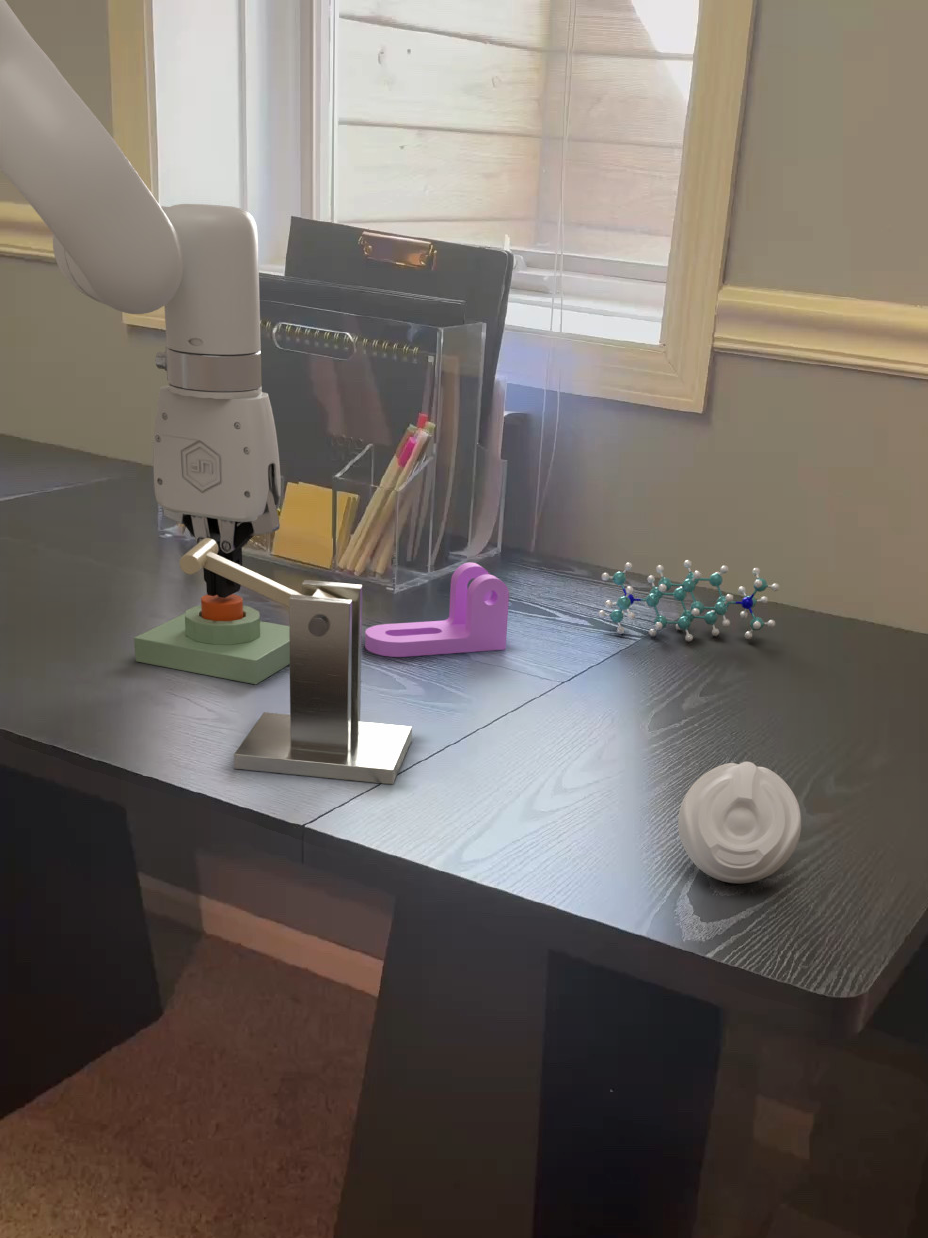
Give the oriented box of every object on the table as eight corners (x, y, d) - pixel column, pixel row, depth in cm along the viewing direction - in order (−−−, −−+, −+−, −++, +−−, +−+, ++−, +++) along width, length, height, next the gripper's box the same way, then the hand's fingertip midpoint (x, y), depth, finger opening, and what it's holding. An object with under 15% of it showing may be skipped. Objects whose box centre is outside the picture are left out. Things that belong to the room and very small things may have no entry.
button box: (135, 661, 122) (132, 617, 120) (194, 631, 130) (192, 589, 128) (256, 684, 119) (255, 640, 117) (308, 652, 127) (308, 610, 125)
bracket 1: (233, 769, 103) (228, 600, 97) (264, 725, 111) (260, 567, 104) (393, 784, 102) (397, 616, 96) (411, 740, 110) (417, 582, 104)
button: (194, 620, 122) (193, 600, 121) (214, 609, 125) (214, 590, 124) (230, 626, 121) (229, 606, 120) (250, 615, 124) (249, 596, 123)
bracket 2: (483, 631, 136) (487, 561, 133) (505, 649, 132) (510, 577, 128) (357, 640, 131) (358, 567, 128) (376, 658, 127) (377, 584, 123)
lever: (174, 575, 98) (184, 545, 97) (195, 558, 103) (205, 528, 101) (331, 648, 100) (343, 618, 98) (344, 627, 104) (356, 599, 103)
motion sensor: (667, 892, 90) (682, 784, 86) (675, 843, 96) (689, 740, 93) (791, 909, 89) (811, 800, 85) (789, 859, 95) (809, 755, 92)
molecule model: (592, 620, 142) (598, 550, 138) (758, 626, 144) (769, 557, 140) (604, 646, 135) (611, 572, 131) (779, 651, 137) (791, 579, 133)
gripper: (110, 368, 112) (126, 591, 121) (275, 389, 108) (279, 617, 117) (160, 359, 118) (172, 570, 127) (317, 377, 114) (319, 595, 123)
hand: (223, 592), depth 122 cm, fingers closed
